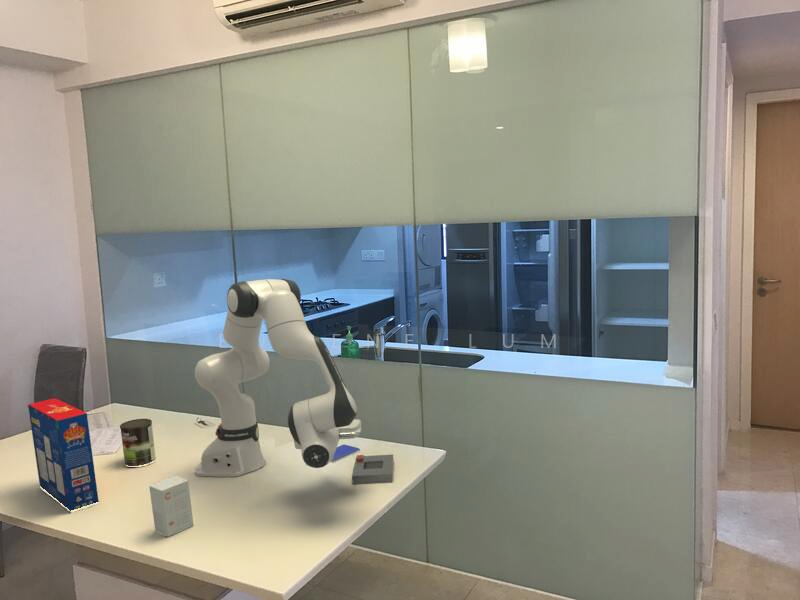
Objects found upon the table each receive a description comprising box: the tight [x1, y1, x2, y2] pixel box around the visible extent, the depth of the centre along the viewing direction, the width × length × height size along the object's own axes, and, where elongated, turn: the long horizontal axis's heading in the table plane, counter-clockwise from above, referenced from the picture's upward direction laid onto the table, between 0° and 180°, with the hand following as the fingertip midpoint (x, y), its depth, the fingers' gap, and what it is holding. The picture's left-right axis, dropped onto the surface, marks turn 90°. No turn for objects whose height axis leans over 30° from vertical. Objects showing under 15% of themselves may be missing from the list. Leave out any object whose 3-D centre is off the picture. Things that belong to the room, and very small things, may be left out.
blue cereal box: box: [27, 398, 100, 511], centre depth 207 cm, size 28×8×28 cm, turn 44°
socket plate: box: [351, 454, 395, 485], centre depth 211 cm, size 12×16×3 cm
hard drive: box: [329, 443, 361, 464], centre depth 229 cm, size 2×8×12 cm
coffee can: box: [119, 418, 157, 466], centre depth 234 cm, size 10×10×14 cm
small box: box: [149, 475, 194, 538], centre depth 181 cm, size 8×6×13 cm
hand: (329, 421), depth 207 cm, fingers closed on plug, 4 cm apart
